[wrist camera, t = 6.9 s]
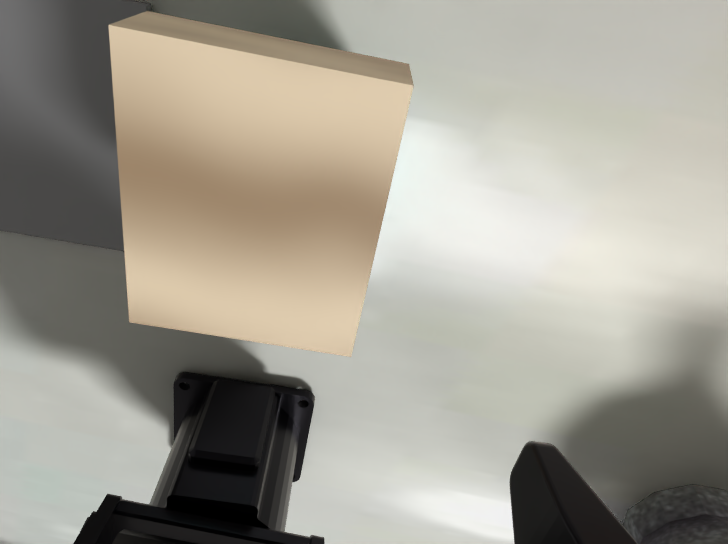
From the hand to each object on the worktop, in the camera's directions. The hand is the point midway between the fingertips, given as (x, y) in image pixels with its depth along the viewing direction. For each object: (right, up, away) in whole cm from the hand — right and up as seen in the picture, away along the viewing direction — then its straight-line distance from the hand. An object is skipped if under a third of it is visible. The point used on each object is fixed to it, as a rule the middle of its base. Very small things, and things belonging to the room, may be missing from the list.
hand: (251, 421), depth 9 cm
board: (-1, +5, +7) cm, 8 cm away
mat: (-9, +8, +10) cm, 15 cm away
